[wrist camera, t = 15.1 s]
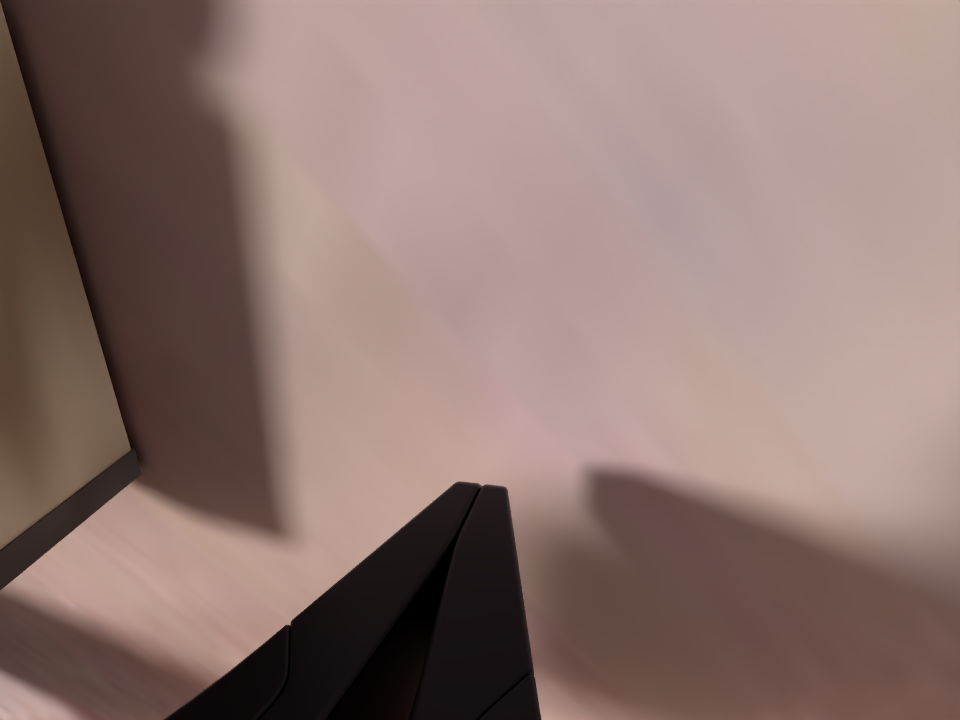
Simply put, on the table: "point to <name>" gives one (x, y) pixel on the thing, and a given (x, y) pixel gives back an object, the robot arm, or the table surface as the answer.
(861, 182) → the table surface
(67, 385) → the leg
